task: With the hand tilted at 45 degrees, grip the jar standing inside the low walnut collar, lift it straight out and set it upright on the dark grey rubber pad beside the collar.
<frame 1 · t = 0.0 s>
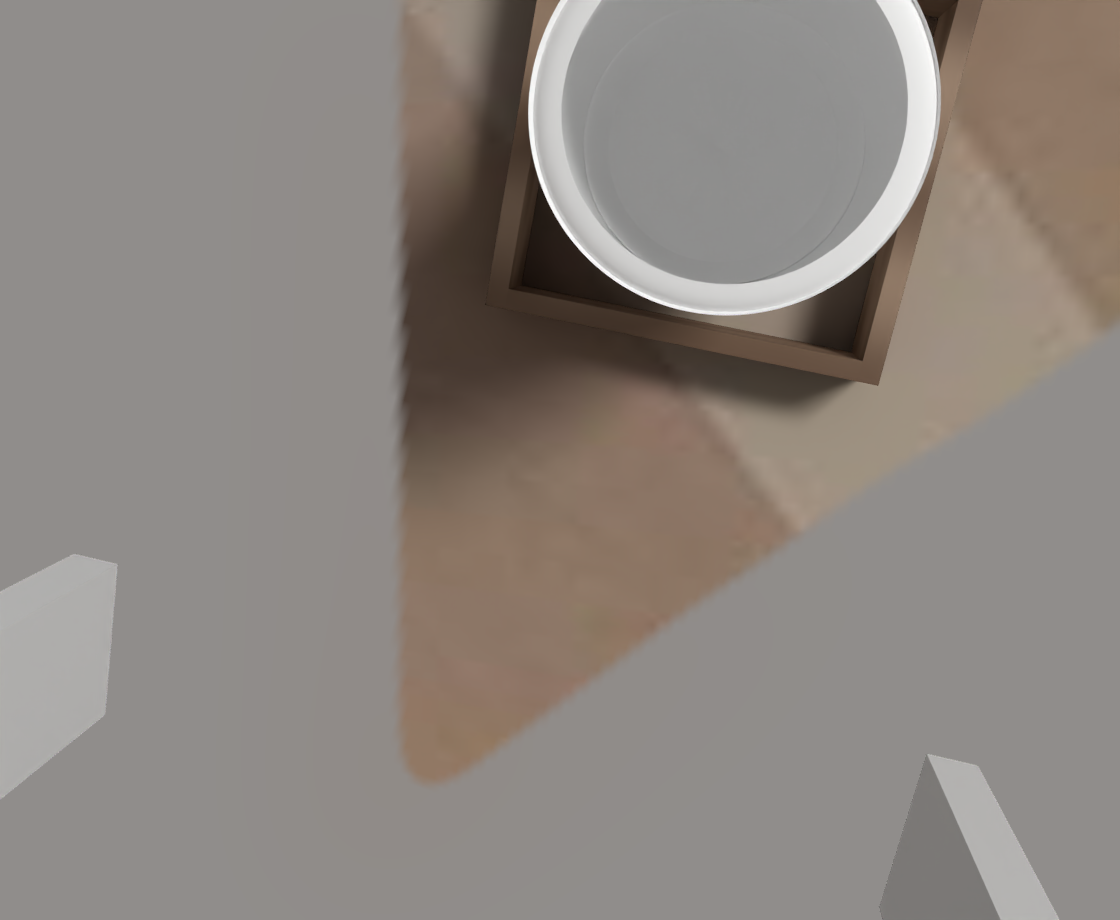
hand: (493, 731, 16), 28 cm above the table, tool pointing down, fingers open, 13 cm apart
jar: (718, 159, 40), resting in collar
collar: (718, 158, 40), on the table
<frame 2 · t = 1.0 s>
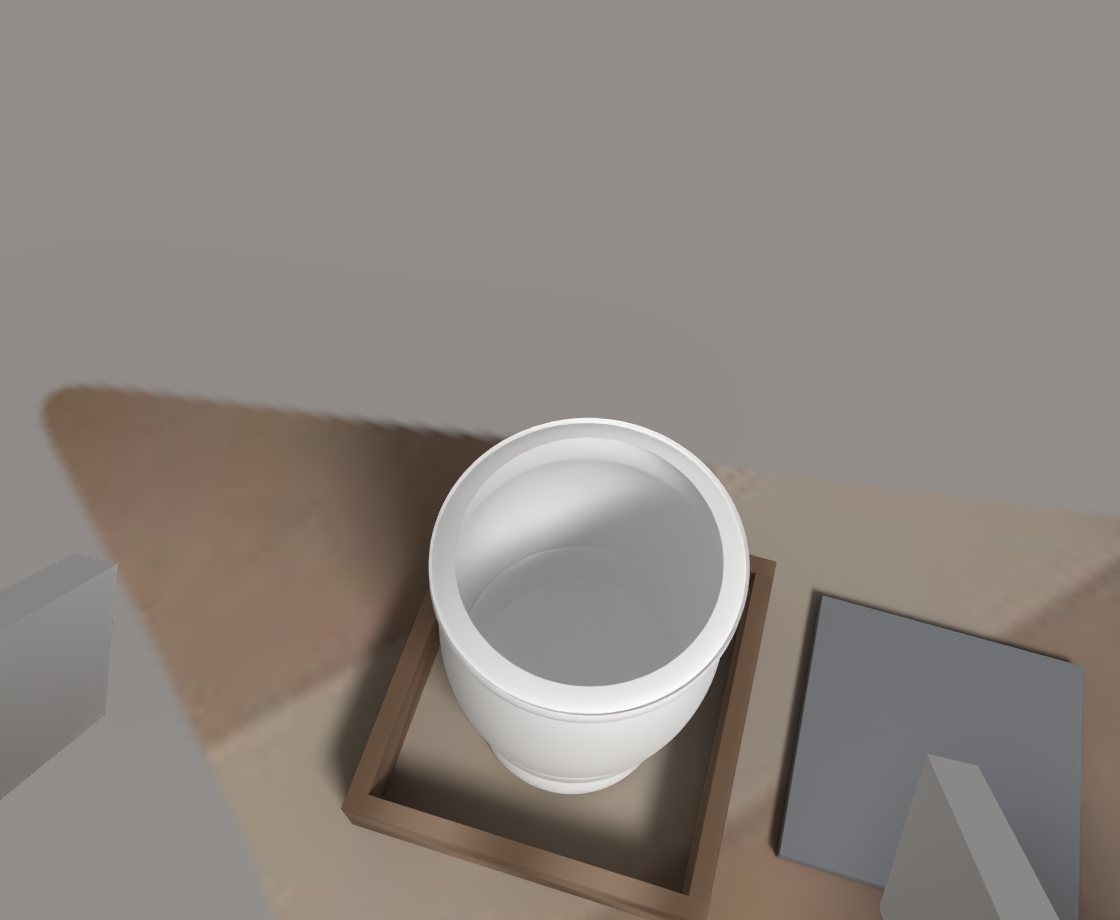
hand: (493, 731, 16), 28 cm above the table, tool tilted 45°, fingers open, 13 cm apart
pad: (934, 759, 44), on the table
jar: (571, 699, 45), resting in collar
collar: (571, 698, 44), on the table
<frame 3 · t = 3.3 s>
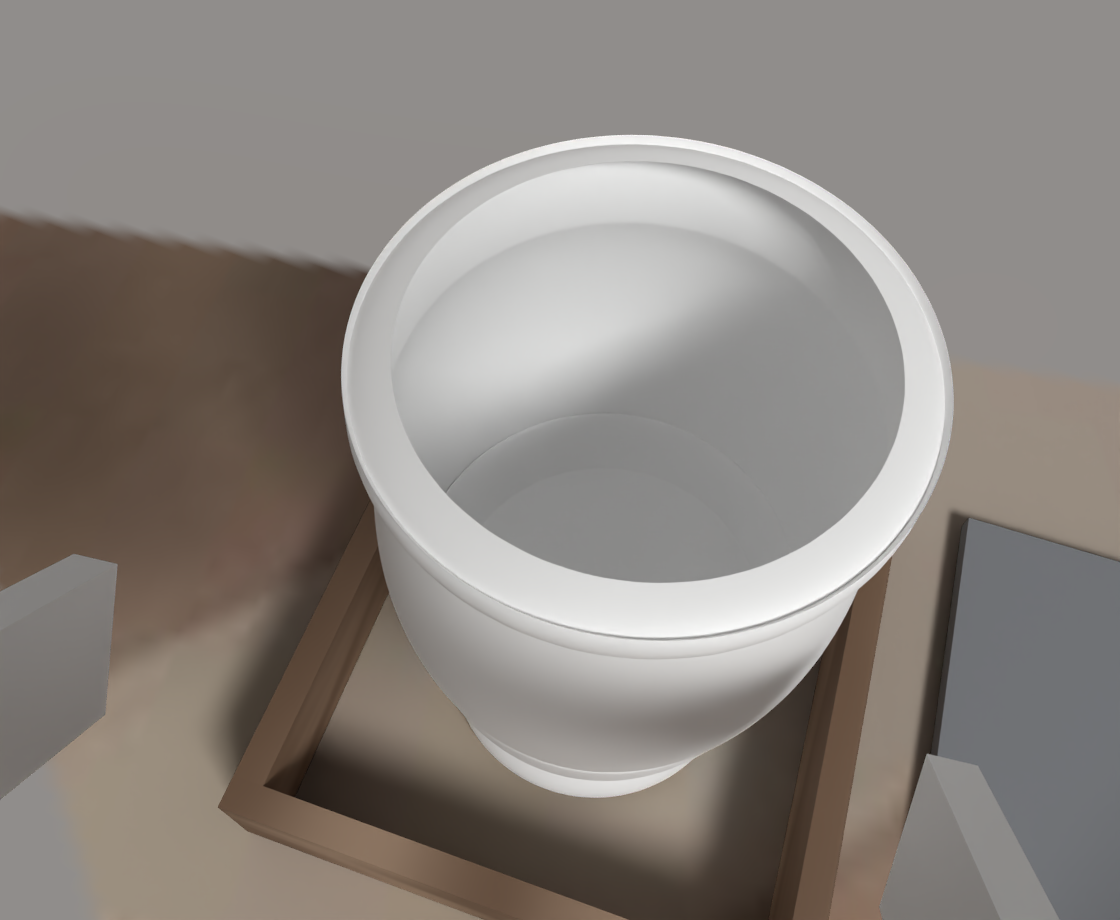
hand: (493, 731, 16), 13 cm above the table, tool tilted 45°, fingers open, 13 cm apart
jar: (593, 655, 30), resting in collar
collar: (593, 653, 29), on the table
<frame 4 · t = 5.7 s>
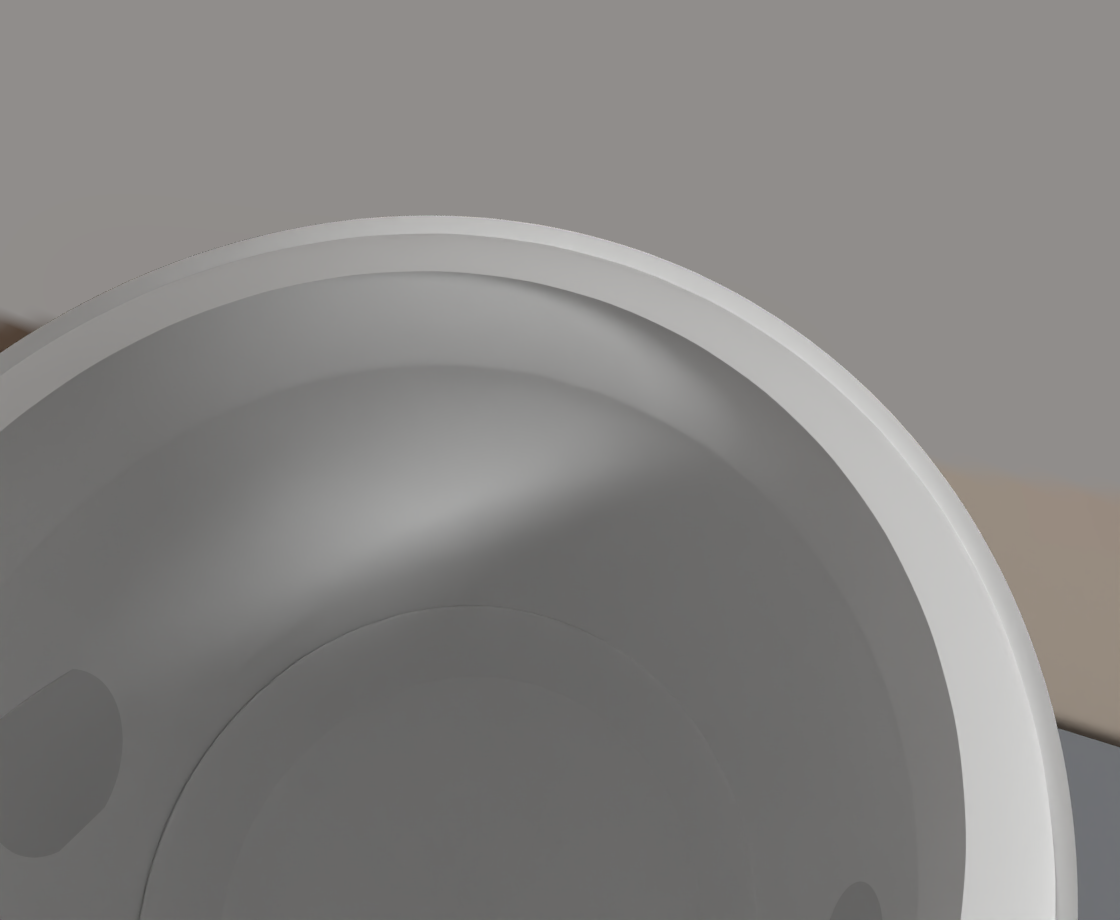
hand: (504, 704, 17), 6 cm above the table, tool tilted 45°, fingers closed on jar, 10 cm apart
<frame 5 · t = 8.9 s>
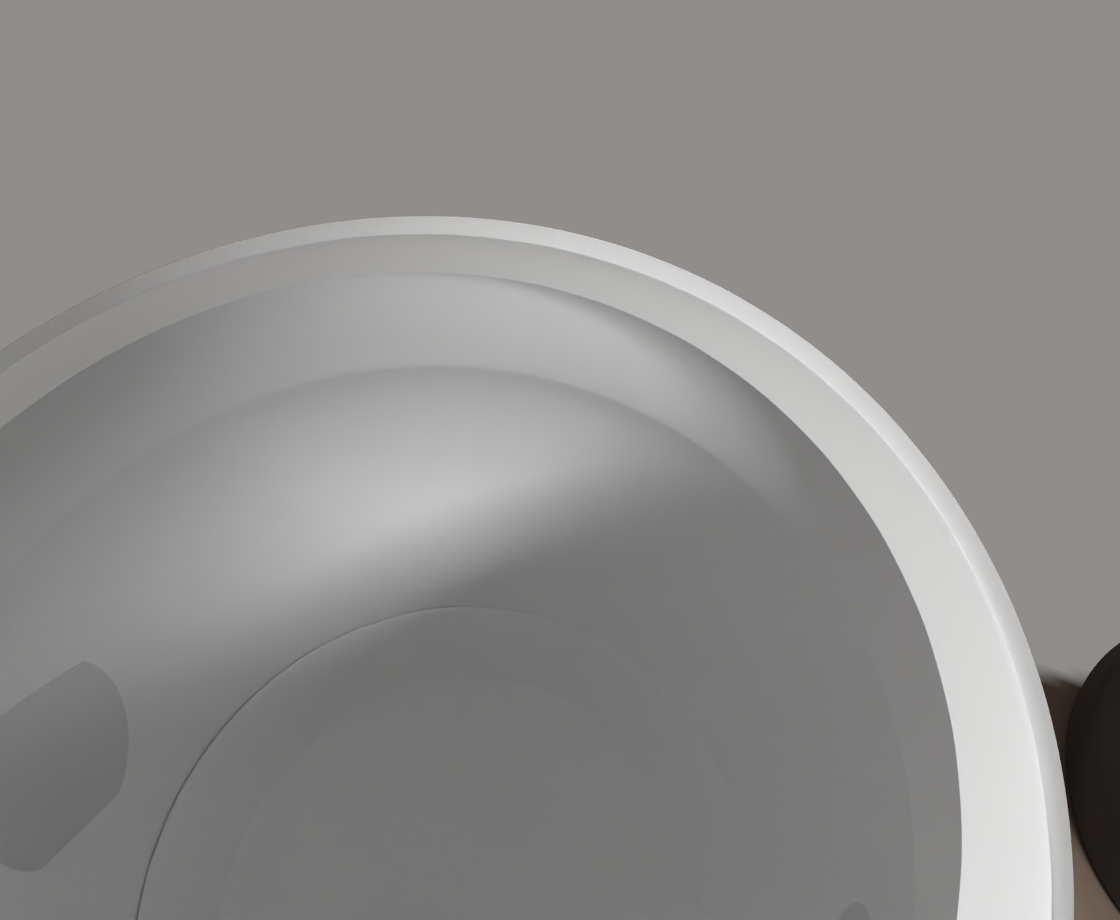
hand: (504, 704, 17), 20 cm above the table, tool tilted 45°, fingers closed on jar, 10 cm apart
when the fingers open (8 cm above the table, at t = 12.1 s): jar drops 2 cm, resting on pad.
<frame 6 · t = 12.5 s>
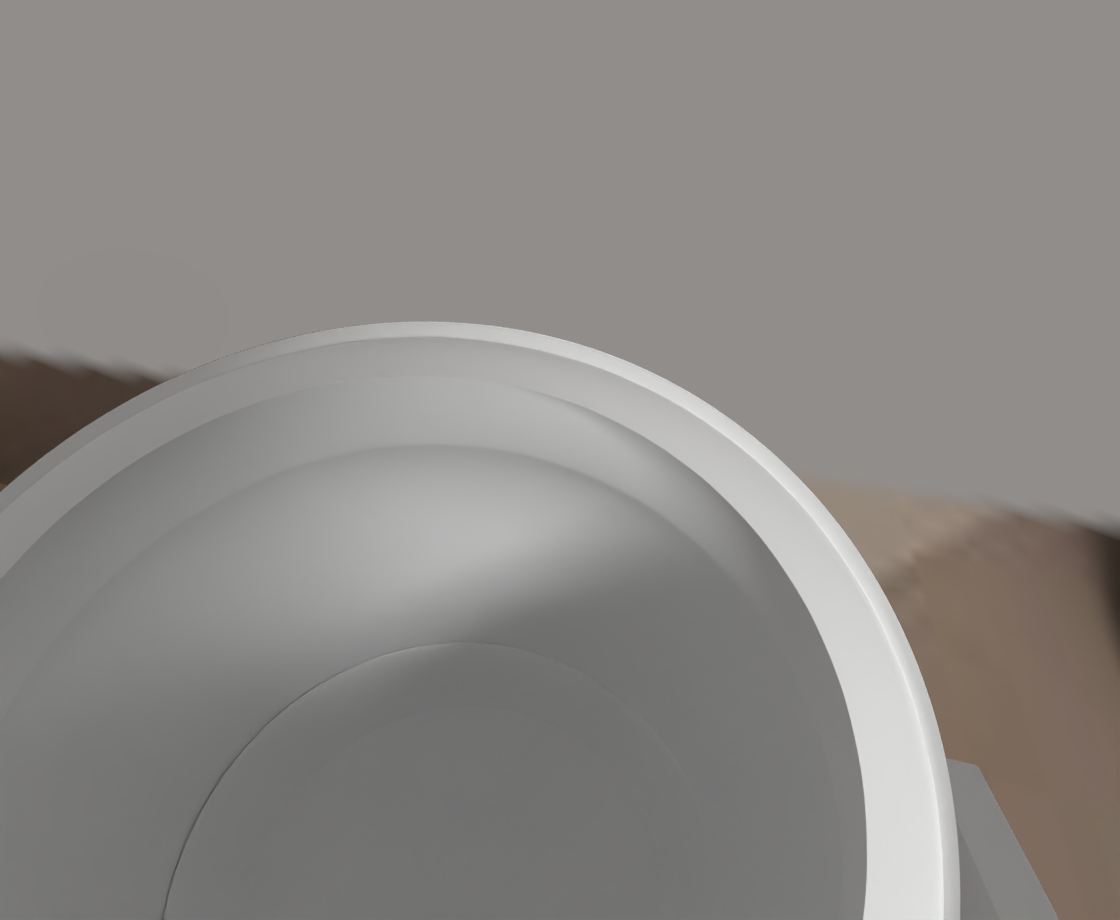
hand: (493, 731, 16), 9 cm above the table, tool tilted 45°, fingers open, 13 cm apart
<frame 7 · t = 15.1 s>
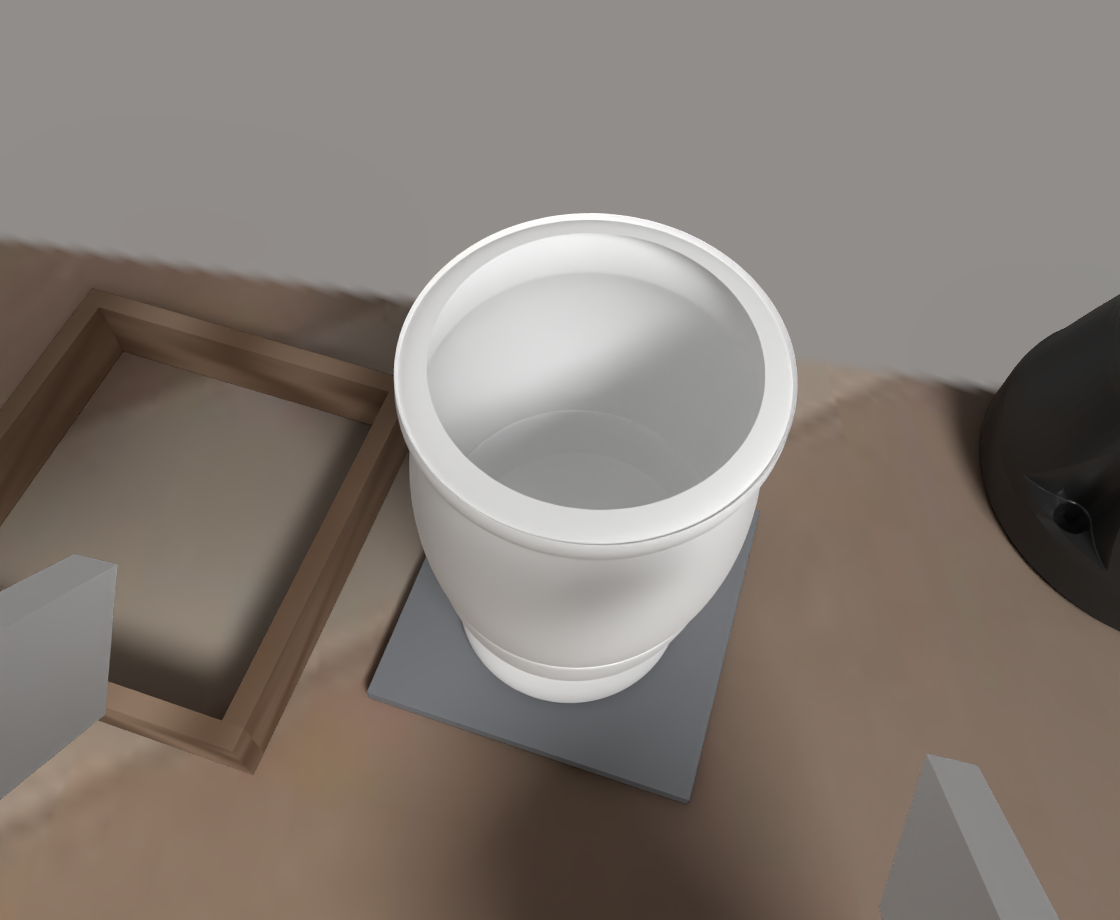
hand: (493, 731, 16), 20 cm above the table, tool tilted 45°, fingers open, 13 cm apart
pad: (574, 602, 38), on the table
jar: (569, 599, 38), resting on pad
collar: (176, 526, 40), on the table
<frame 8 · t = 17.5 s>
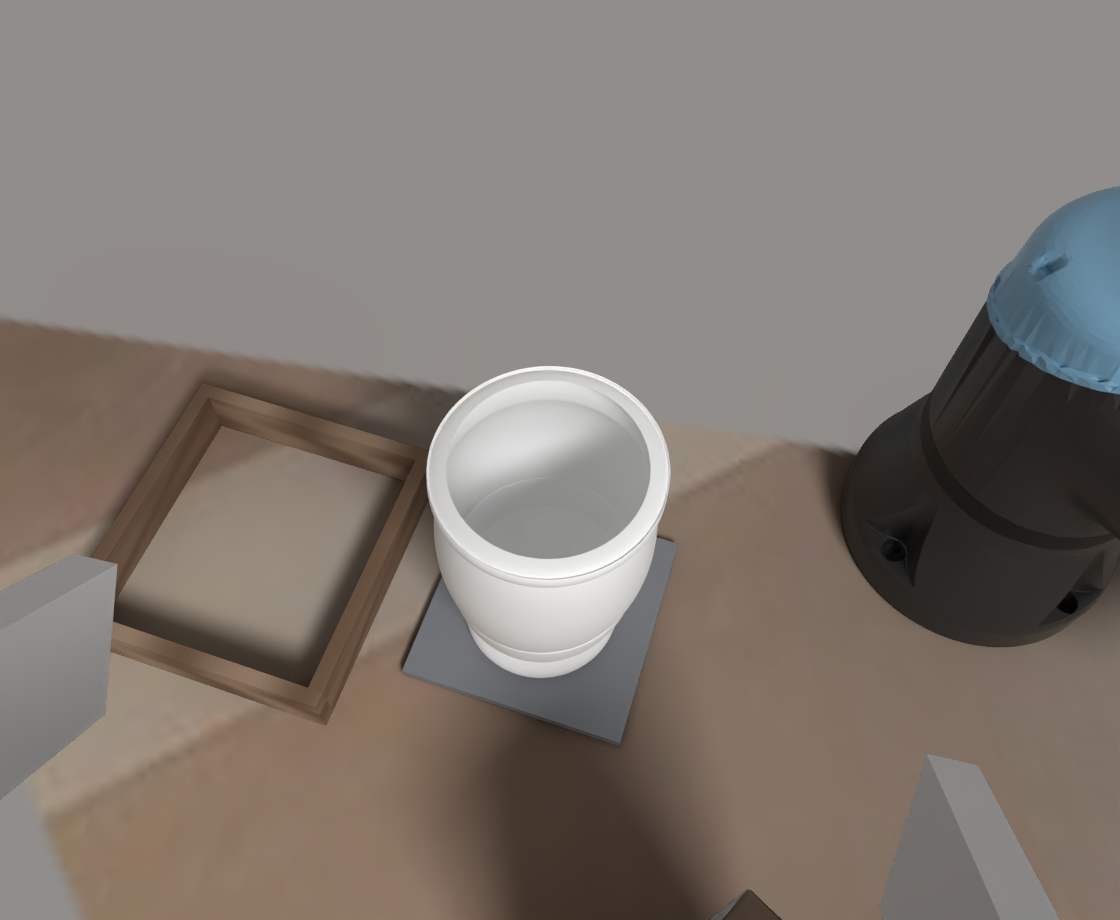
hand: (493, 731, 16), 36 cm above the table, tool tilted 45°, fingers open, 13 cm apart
pad: (545, 608, 55), on the table
jar: (541, 606, 55), resting on pad
collar: (266, 554, 56), on the table
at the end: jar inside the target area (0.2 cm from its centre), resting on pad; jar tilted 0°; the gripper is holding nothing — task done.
